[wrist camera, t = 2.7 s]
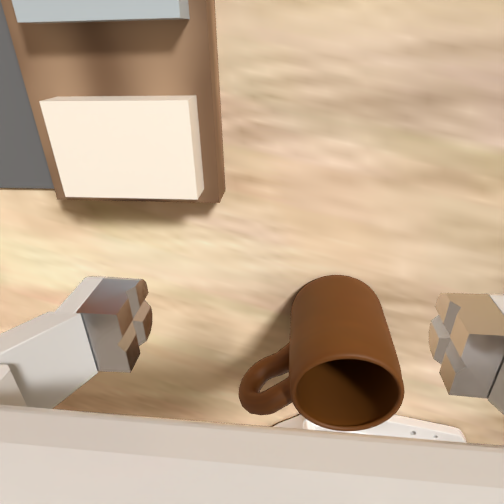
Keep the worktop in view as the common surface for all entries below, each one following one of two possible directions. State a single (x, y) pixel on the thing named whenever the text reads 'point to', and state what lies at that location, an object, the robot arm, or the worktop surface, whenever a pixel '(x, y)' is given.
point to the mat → (18, 124)
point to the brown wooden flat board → (127, 74)
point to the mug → (332, 360)
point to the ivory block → (126, 146)
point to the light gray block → (98, 10)
